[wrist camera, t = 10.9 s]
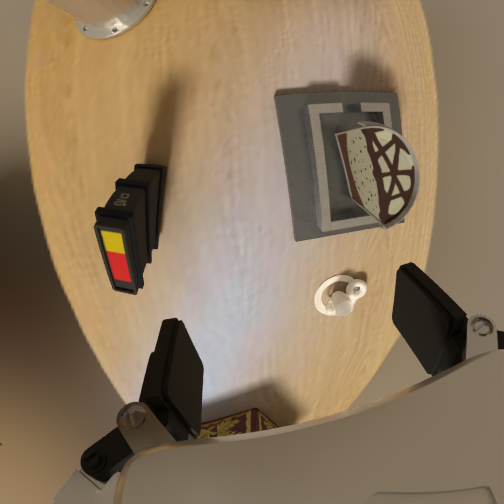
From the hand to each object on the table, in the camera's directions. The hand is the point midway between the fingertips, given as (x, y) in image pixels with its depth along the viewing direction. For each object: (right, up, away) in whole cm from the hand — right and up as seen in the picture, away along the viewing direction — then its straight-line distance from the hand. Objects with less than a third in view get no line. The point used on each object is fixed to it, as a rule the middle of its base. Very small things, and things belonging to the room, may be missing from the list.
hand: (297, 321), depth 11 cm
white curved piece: (+15, -6, +35) cm, 38 cm away
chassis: (+11, +15, +24) cm, 31 cm away
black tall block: (-16, +9, +25) cm, 31 cm away
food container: (+13, +15, +23) cm, 31 cm away
